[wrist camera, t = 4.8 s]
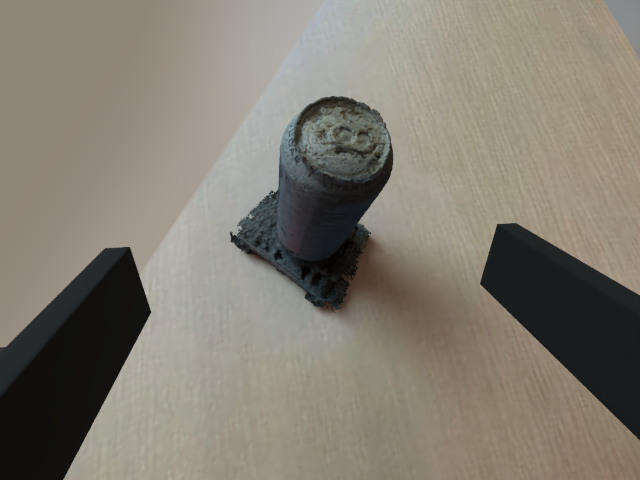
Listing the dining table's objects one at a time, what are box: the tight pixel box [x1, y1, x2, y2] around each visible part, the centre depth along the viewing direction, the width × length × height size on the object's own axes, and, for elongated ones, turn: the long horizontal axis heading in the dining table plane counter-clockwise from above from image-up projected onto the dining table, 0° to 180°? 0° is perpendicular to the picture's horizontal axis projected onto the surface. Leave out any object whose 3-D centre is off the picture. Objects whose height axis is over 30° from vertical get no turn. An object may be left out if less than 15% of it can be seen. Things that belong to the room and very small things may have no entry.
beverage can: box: [229, 96, 393, 313], centre depth 16 cm, size 9×8×12 cm
